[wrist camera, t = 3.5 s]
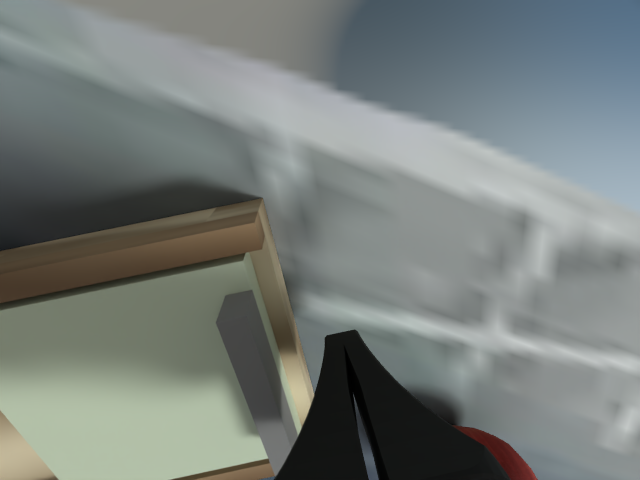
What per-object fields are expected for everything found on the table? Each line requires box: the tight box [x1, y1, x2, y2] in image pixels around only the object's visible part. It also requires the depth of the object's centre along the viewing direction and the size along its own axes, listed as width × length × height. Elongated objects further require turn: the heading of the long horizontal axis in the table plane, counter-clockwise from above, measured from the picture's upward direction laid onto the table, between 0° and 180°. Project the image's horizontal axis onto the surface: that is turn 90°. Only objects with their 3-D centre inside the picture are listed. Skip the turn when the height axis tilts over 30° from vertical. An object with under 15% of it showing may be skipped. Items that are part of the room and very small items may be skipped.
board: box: [0, 198, 314, 480], centre depth 14 cm, size 13×24×3 cm, turn 100°
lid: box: [0, 252, 302, 480], centre depth 12 cm, size 10×11×3 cm
